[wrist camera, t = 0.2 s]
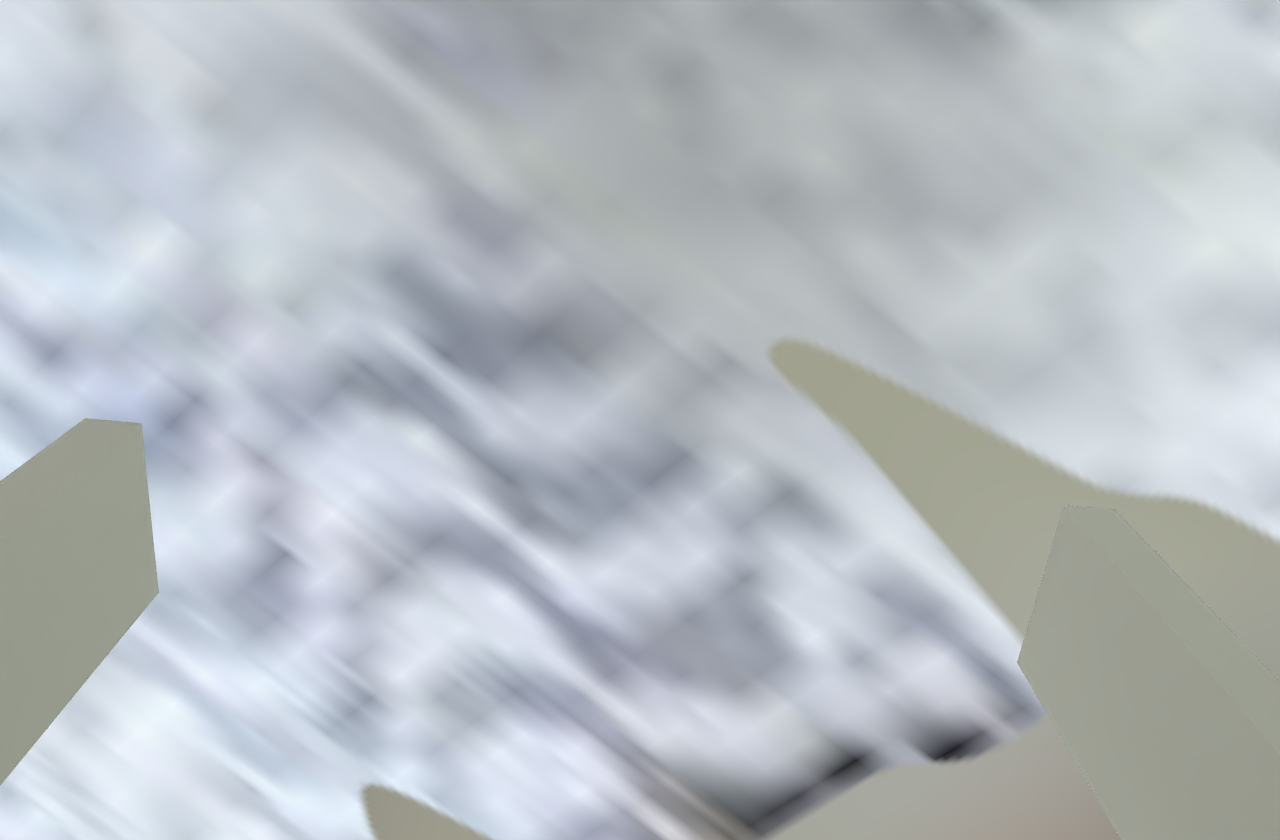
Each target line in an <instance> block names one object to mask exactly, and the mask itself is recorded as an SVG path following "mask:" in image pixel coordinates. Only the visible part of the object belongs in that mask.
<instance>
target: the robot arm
mask: <svg viewBox="0 0 1280 840" xmlns="http://www.w3.org/2000/svg"><path fill="white" fill-rule="evenodd" d="M158 593H159V592H158V582H157V572H156V562H155V552H154V543H153V533H152V523H151V513H150V503H149V493H148V484H147V474H146V464H145V454H144V444H143V435H142V425H141V423H132V422H120V421H109V420H98V419H87V418H85V419H84V420H82V421H81V422H80V423H78V424H77V425H76V426H74V427H73V428H72V429H70V430H69V431H68V432H66V433H65V434H63V435H62V436H61V437H59V438H58V439H57V440H55V441H54V442H53V443H51V444H50V445H49V446H47V447H46V448H45V449H43V450H42V451H41V452H39V453H38V454H36V455H35V456H34V457H32V458H31V459H30V460H28V461H27V462H26V463H24V464H23V465H22V466H20V467H19V468H18V469H16V470H15V471H14V472H12V473H11V474H9V475H8V476H7V477H5V478H4V479H3V480H1V481H0V785H1V784H2V783H3V782H4V780H5V779H6V778H7V777H8V775H9V774H10V773H11V772H12V771H13V769H14V768H15V767H16V766H17V765H18V763H19V762H20V761H21V760H22V758H23V757H24V756H25V755H26V754H27V752H28V751H29V750H30V749H31V747H32V746H33V745H34V744H35V743H36V741H37V740H38V739H39V738H40V736H41V735H42V734H43V733H44V732H45V730H46V729H47V728H48V727H49V725H50V724H51V723H52V722H53V721H54V719H55V718H56V717H57V716H58V715H59V713H60V712H61V711H62V710H63V708H64V707H65V706H66V705H67V704H68V702H69V701H70V700H71V699H72V697H73V696H74V695H75V694H76V693H77V691H78V690H79V689H80V688H81V686H82V685H83V684H84V683H85V682H86V680H87V679H88V678H89V677H90V675H91V674H92V673H93V672H94V671H95V669H96V668H97V667H98V666H99V665H100V663H101V662H102V661H103V660H104V658H105V657H106V656H107V655H108V654H109V652H110V651H111V650H112V649H113V647H114V646H115V645H116V644H117V643H118V641H119V640H120V639H121V638H122V636H123V635H124V634H125V633H126V632H127V630H128V629H129V628H130V627H131V625H132V624H133V623H134V622H135V621H136V619H137V618H138V617H139V616H140V615H141V613H142V612H143V611H144V610H145V608H146V607H147V606H148V605H149V604H150V602H151V601H152V600H153V599H154V597H155V596H156V595H157V594H158ZM1017 663H1018V665H1019V666H1020V668H1021V670H1022V672H1023V673H1024V675H1025V677H1026V678H1027V680H1028V682H1029V683H1030V685H1031V687H1032V689H1033V690H1034V692H1035V694H1036V695H1037V697H1038V699H1039V701H1040V702H1041V704H1042V706H1043V707H1044V709H1045V711H1046V713H1047V714H1048V716H1049V718H1050V719H1051V721H1052V723H1053V724H1054V726H1055V728H1056V730H1057V731H1058V733H1059V735H1060V736H1061V738H1062V740H1063V741H1064V743H1065V745H1066V746H1067V748H1068V750H1069V752H1070V753H1071V755H1072V757H1073V758H1074V760H1075V762H1076V764H1077V765H1078V767H1079V769H1080V771H1081V772H1082V774H1083V776H1084V777H1085V779H1086V781H1087V783H1088V784H1089V786H1090V788H1091V789H1092V791H1093V793H1094V794H1095V796H1096V798H1097V800H1098V801H1099V803H1100V805H1101V806H1102V808H1103V810H1104V812H1105V813H1106V815H1107V817H1108V818H1109V820H1110V822H1111V824H1112V825H1113V827H1114V829H1115V830H1116V832H1117V834H1118V835H1119V837H1120V839H1121V840H1280V680H1279V679H1278V678H1277V677H1276V676H1275V675H1274V674H1273V673H1272V672H1271V671H1270V670H1269V669H1268V668H1267V666H1266V665H1264V663H1262V661H1261V660H1260V659H1259V658H1258V657H1257V656H1256V655H1255V654H1254V653H1253V652H1252V651H1251V650H1250V649H1249V648H1248V647H1247V646H1246V645H1245V644H1244V643H1243V642H1242V640H1241V639H1240V638H1238V636H1237V635H1236V634H1235V633H1234V632H1233V631H1232V630H1231V629H1230V628H1229V627H1228V626H1227V625H1226V624H1225V623H1224V622H1223V621H1222V620H1221V619H1220V618H1219V617H1218V616H1217V615H1216V614H1215V612H1213V610H1212V609H1211V608H1210V607H1209V606H1208V605H1207V604H1206V603H1205V602H1204V601H1203V600H1202V599H1201V598H1200V597H1199V596H1198V595H1197V594H1196V593H1195V592H1194V591H1193V590H1192V589H1191V588H1190V586H1189V585H1188V584H1187V583H1186V582H1185V581H1184V580H1183V579H1182V578H1181V577H1180V576H1179V575H1178V574H1177V573H1176V572H1175V571H1174V570H1173V569H1172V568H1171V567H1170V566H1169V565H1168V564H1167V563H1166V562H1165V560H1164V559H1163V558H1162V557H1161V556H1160V555H1159V554H1158V553H1157V552H1156V551H1155V550H1154V549H1153V548H1152V547H1151V546H1150V545H1149V544H1148V543H1147V542H1146V541H1145V540H1144V539H1143V538H1142V537H1141V536H1140V534H1139V533H1138V532H1137V531H1136V530H1135V529H1133V528H1132V526H1131V525H1130V524H1129V523H1128V522H1127V521H1126V520H1125V519H1124V518H1123V517H1122V516H1121V515H1120V514H1119V513H1118V512H1117V511H1116V510H1113V509H1103V508H1091V507H1079V506H1069V505H1068V506H1067V505H1064V507H1063V510H1062V513H1061V517H1060V520H1059V524H1058V527H1057V530H1056V534H1055V537H1054V540H1053V544H1052V547H1051V551H1050V554H1049V557H1048V561H1047V564H1046V567H1045V571H1044V574H1043V577H1042V581H1041V584H1040V587H1039V591H1038V594H1037V597H1036V601H1035V604H1034V608H1033V611H1032V614H1031V618H1030V621H1029V625H1028V628H1027V632H1026V634H1025V638H1024V641H1023V645H1022V648H1021V651H1020V655H1019V658H1018V661H1017Z"/></svg>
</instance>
